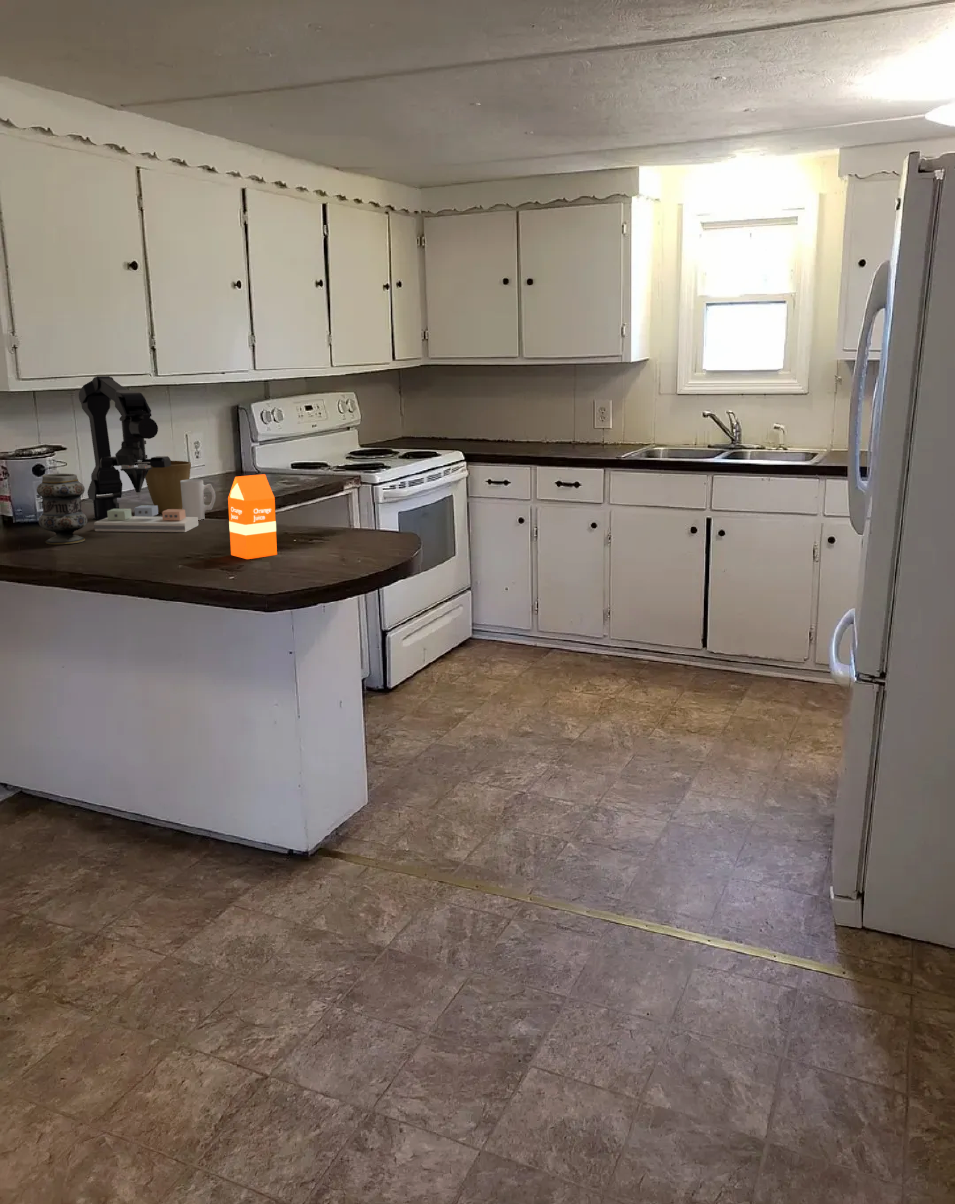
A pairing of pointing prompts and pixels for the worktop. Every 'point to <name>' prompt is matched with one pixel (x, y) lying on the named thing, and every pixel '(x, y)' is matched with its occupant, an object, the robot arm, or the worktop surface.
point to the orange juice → (252, 517)
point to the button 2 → (146, 510)
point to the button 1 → (119, 514)
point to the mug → (195, 498)
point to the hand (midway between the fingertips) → (138, 492)
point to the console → (146, 524)
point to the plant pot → (167, 484)
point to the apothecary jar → (62, 507)
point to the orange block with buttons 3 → (173, 514)
